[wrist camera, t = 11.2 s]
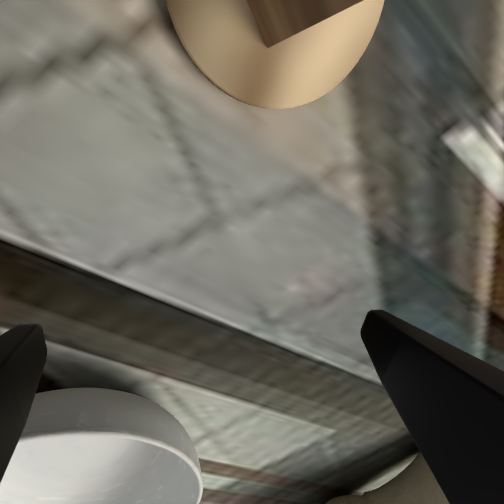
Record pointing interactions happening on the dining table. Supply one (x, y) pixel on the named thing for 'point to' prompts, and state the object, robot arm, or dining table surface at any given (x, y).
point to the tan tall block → (292, 16)
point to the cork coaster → (272, 50)
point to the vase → (402, 488)
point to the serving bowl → (101, 452)
